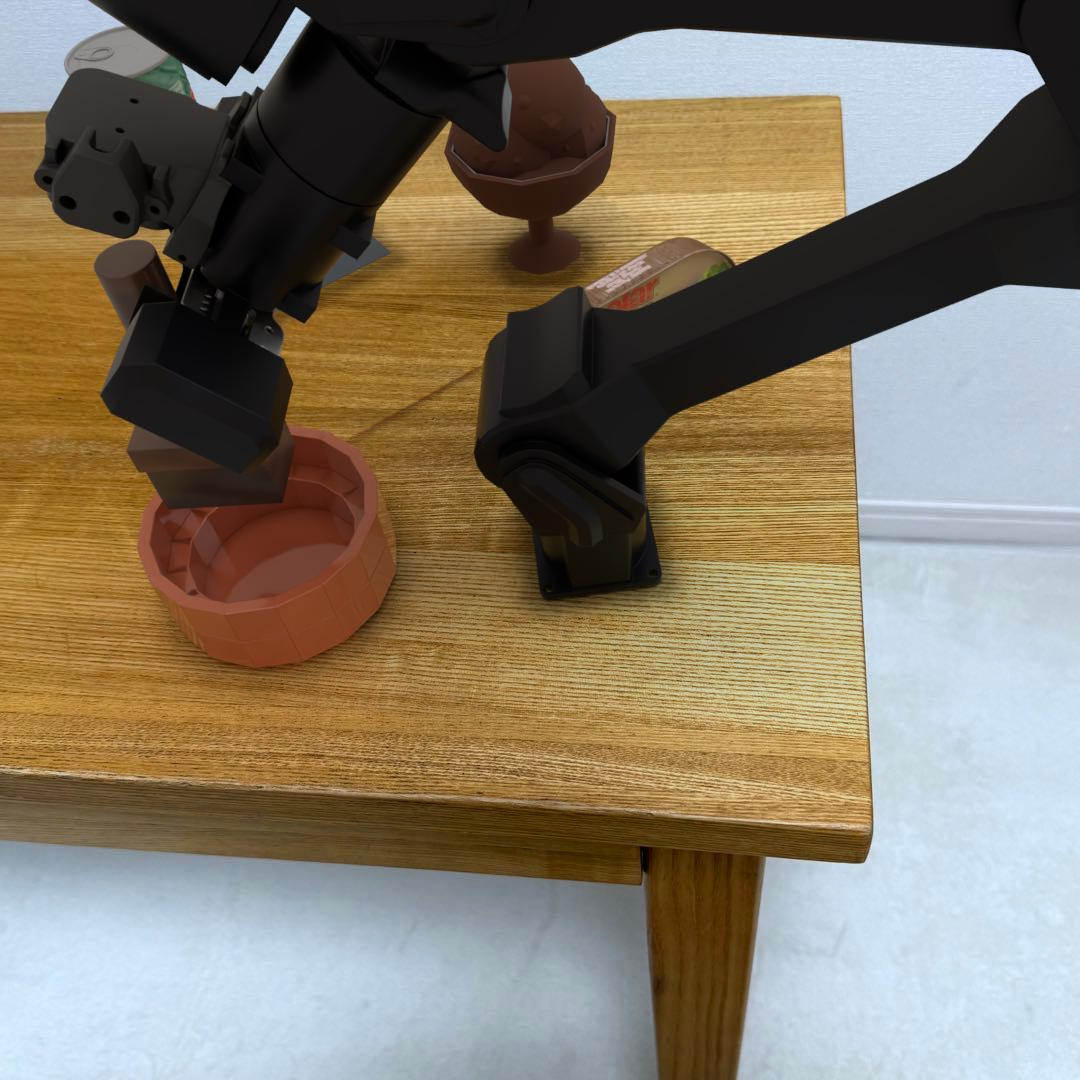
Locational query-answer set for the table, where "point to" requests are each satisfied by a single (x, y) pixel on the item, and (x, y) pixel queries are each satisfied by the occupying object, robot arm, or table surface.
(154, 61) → the canned tomato
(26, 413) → the table surface
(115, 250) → the brush
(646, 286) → the tin
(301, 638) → the bowl
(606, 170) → the ice cream bowl
